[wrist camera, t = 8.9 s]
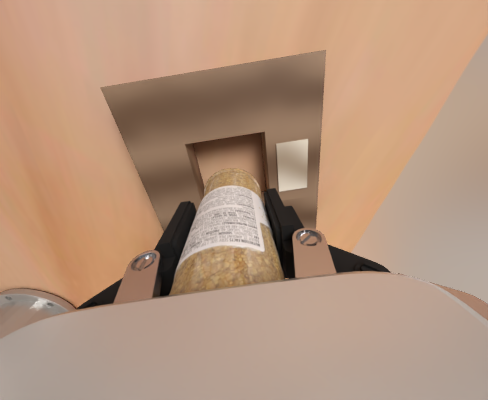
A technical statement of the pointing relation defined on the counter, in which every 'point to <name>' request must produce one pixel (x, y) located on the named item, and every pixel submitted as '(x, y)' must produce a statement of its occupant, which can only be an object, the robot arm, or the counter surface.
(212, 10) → the counter surface
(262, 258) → the sprinkles bottle
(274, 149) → the socket board
